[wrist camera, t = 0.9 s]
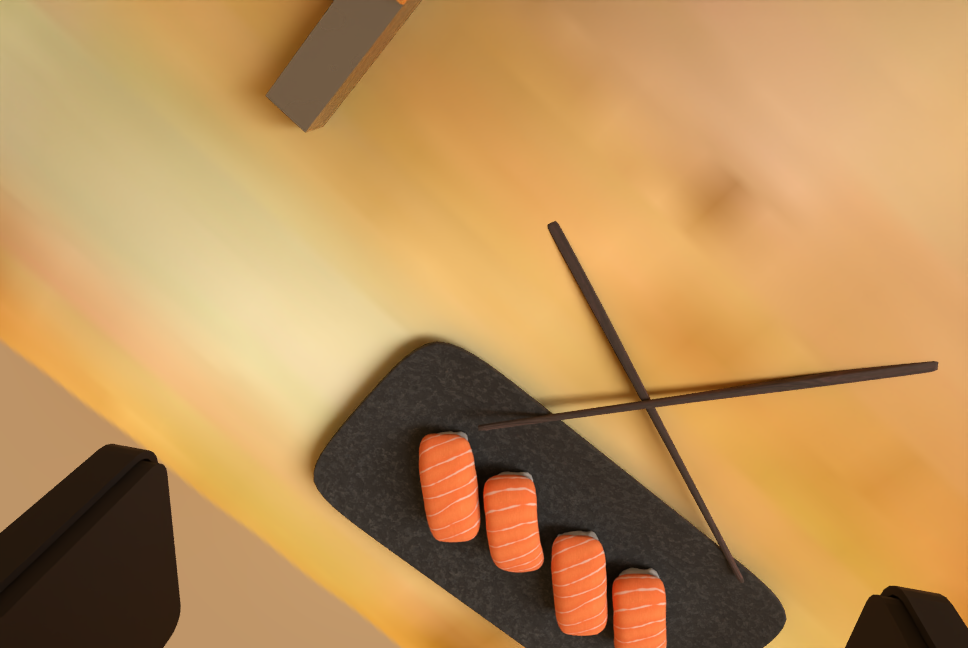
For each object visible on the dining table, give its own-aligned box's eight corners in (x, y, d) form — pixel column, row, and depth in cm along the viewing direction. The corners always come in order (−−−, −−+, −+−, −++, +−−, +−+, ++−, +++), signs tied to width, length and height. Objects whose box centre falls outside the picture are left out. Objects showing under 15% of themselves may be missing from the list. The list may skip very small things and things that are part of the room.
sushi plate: (304, 464, 43) (280, 501, 40) (635, 83, 32) (641, 88, 28) (635, 704, 47) (639, 756, 44) (1031, 446, 36) (1079, 490, 32)
